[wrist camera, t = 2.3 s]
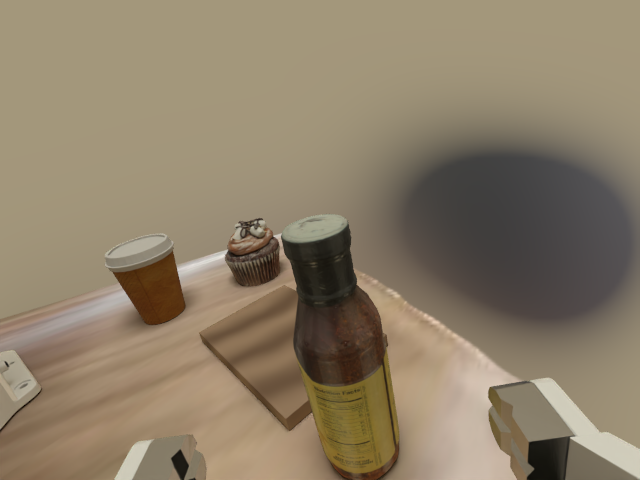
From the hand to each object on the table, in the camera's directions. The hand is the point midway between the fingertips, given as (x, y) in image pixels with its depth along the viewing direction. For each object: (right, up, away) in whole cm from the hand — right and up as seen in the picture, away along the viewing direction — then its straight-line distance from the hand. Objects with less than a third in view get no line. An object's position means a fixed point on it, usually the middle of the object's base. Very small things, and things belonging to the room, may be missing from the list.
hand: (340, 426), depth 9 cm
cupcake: (-12, -1, +52) cm, 53 cm away
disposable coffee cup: (-25, -7, +45) cm, 52 cm away
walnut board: (-5, -8, +32) cm, 33 cm away
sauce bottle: (+3, -12, +18) cm, 22 cm away
